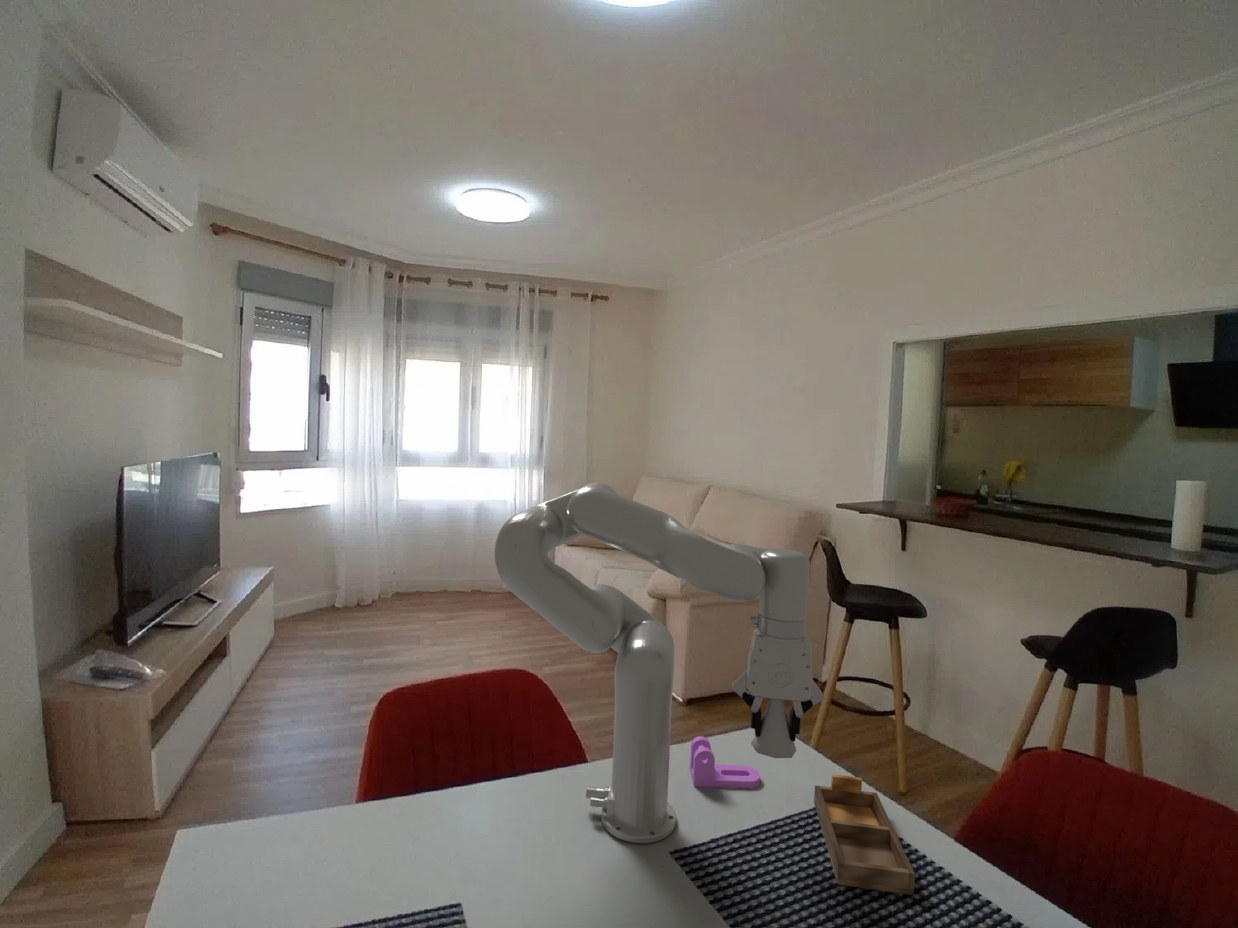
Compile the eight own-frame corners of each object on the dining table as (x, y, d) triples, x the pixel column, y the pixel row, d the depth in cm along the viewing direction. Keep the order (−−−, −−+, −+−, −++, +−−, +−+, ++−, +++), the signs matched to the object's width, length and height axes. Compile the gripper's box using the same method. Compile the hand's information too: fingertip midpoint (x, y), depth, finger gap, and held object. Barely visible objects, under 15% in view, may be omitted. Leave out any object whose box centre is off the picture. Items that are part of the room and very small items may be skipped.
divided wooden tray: (837, 884, 89) (839, 847, 89) (814, 802, 109) (815, 772, 109) (913, 894, 88) (916, 857, 87) (875, 810, 108) (877, 779, 108)
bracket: (693, 786, 113) (695, 750, 113) (689, 770, 119) (691, 735, 118) (762, 788, 113) (764, 752, 113) (755, 772, 119) (757, 737, 119)
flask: (798, 763, 95) (802, 701, 95) (751, 756, 97) (755, 694, 96) (794, 741, 102) (798, 683, 102) (750, 734, 104) (754, 677, 103)
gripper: (729, 628, 96) (722, 739, 97) (840, 638, 94) (832, 753, 94) (727, 614, 104) (721, 718, 104) (831, 624, 101) (823, 730, 102)
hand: (774, 733), depth 99 cm, fingers closed on flask, 4 cm apart
